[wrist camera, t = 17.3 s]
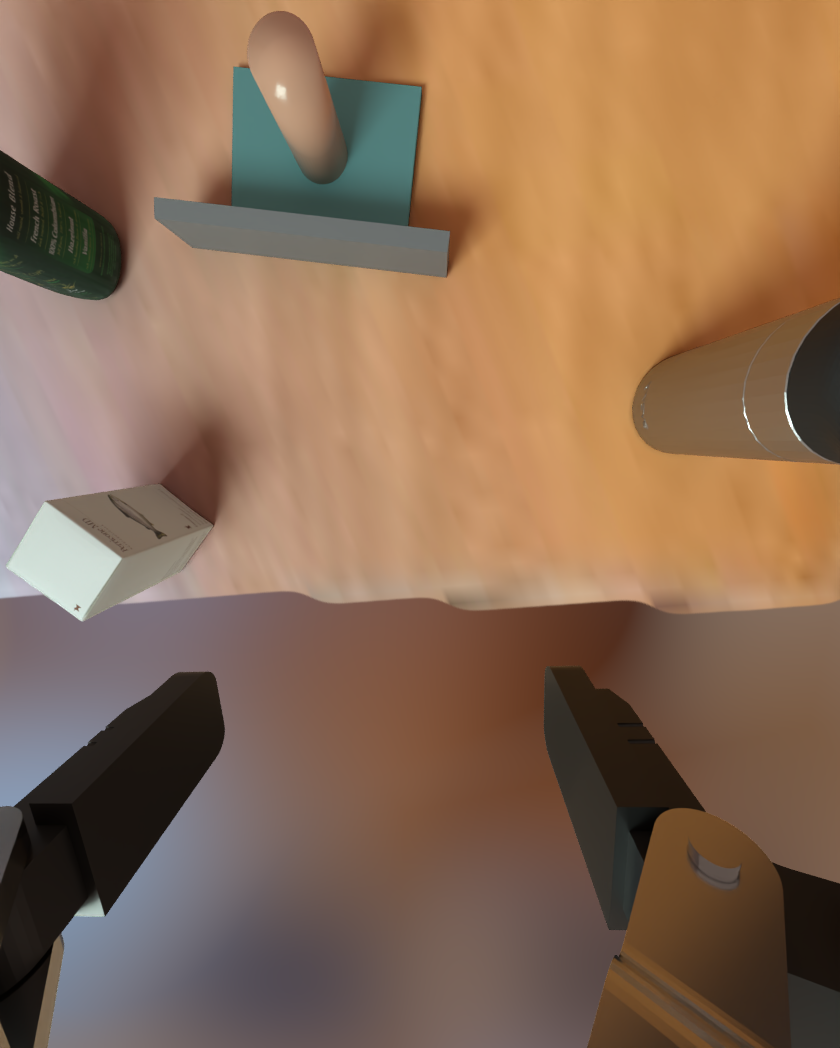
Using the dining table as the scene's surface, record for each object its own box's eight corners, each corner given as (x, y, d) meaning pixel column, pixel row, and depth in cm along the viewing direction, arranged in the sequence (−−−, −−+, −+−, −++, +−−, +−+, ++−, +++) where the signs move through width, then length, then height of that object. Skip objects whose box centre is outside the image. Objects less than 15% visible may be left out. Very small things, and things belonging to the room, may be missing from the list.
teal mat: (421, 93, 33) (421, 86, 33) (406, 238, 36) (406, 235, 35) (237, 73, 34) (233, 66, 33) (234, 218, 36) (231, 215, 35)
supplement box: (216, 524, 42) (125, 560, 30) (180, 573, 44) (79, 626, 32) (160, 480, 42) (43, 498, 29) (125, 531, 43) (0, 568, 31)
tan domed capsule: (345, 121, 33) (312, 7, 25) (349, 182, 34) (319, 93, 26) (293, 125, 34) (242, 14, 25) (299, 186, 35) (252, 99, 26)
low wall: (448, 259, 36) (450, 231, 31) (446, 277, 36) (447, 252, 31) (192, 229, 36) (154, 197, 31) (192, 247, 37) (154, 218, 32)
